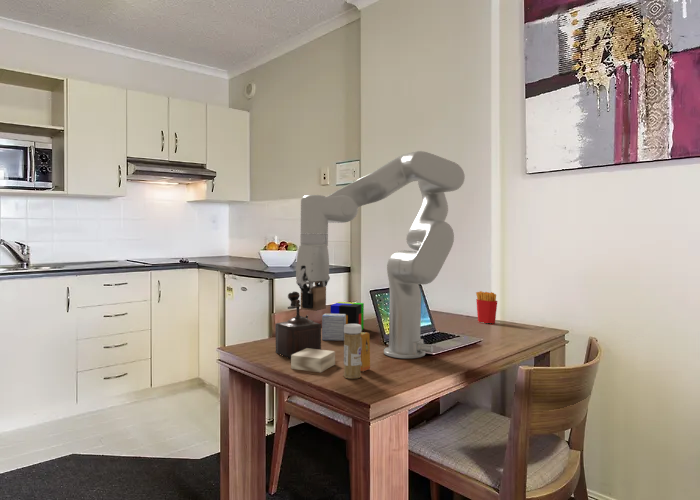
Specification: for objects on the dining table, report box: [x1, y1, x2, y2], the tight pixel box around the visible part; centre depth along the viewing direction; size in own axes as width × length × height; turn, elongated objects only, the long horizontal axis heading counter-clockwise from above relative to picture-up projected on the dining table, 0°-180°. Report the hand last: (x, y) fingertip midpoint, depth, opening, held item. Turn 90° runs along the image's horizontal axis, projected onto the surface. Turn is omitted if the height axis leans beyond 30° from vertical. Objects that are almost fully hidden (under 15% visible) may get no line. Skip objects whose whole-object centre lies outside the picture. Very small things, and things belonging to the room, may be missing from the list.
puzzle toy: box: [330, 301, 365, 330], centre depth 185 cm, size 10×10×10 cm
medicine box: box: [321, 313, 346, 342], centre depth 169 cm, size 8×4×9 cm, turn 84°
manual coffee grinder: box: [274, 291, 322, 359], centre depth 151 cm, size 16×11×18 cm
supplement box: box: [360, 331, 371, 373], centre depth 132 cm, size 3×3×10 cm
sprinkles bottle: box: [343, 324, 363, 380], centre depth 125 cm, size 5×5×13 cm
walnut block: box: [300, 285, 327, 312], centre depth 134 cm, size 5×5×6 cm
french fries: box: [475, 290, 498, 324], centre depth 203 cm, size 9×4×13 cm, turn 41°
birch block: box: [290, 348, 336, 373], centre depth 135 cm, size 9×9×4 cm
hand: (313, 306), depth 134 cm, fingers closed on walnut block, 5 cm apart
